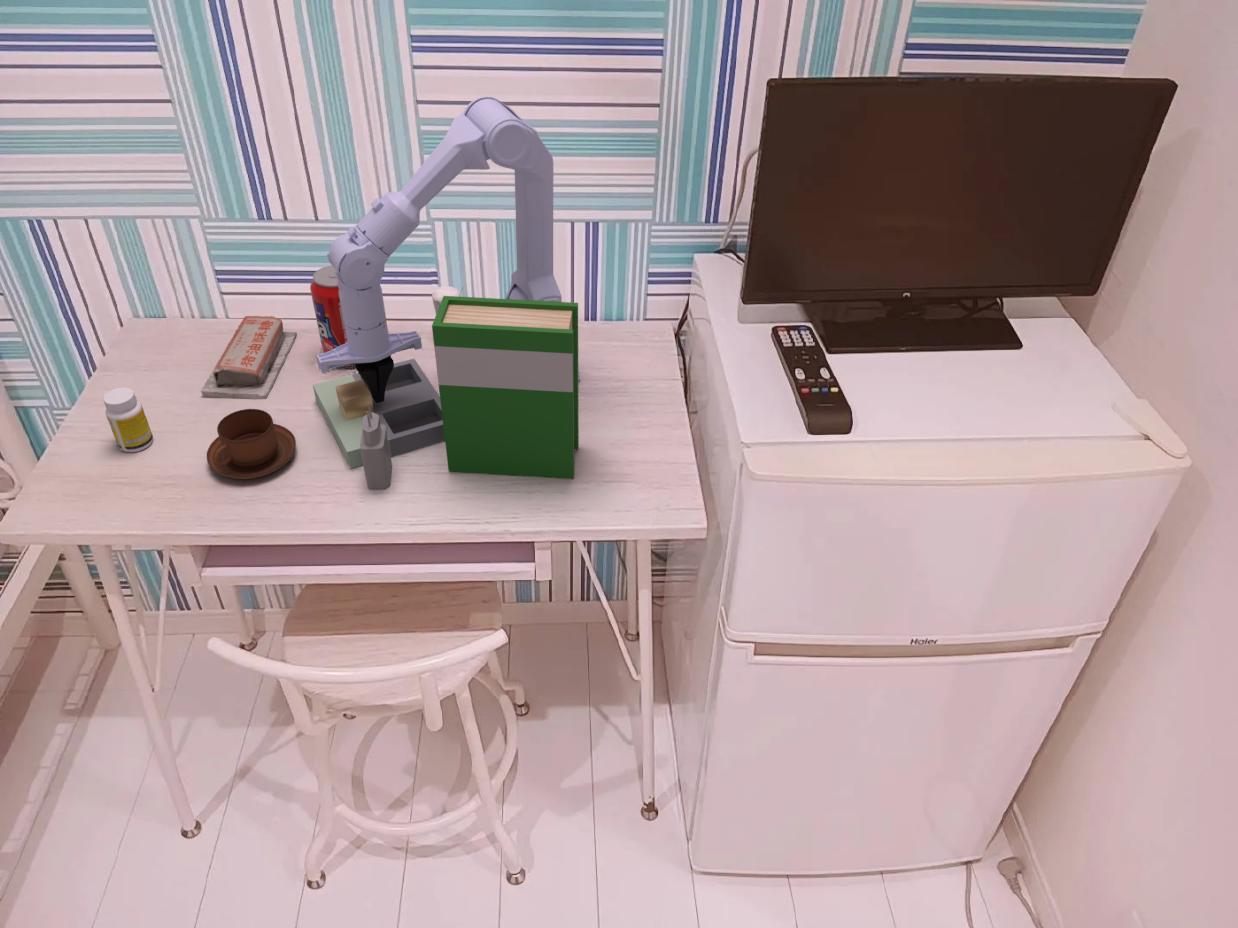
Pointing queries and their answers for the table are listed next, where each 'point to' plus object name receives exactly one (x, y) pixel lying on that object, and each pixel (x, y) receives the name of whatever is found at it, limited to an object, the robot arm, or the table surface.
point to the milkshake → (441, 292)
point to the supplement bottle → (127, 420)
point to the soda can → (328, 309)
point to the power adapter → (375, 452)
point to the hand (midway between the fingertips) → (378, 398)
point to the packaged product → (251, 360)
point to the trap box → (387, 412)
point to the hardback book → (508, 385)
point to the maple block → (354, 399)
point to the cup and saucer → (250, 445)
